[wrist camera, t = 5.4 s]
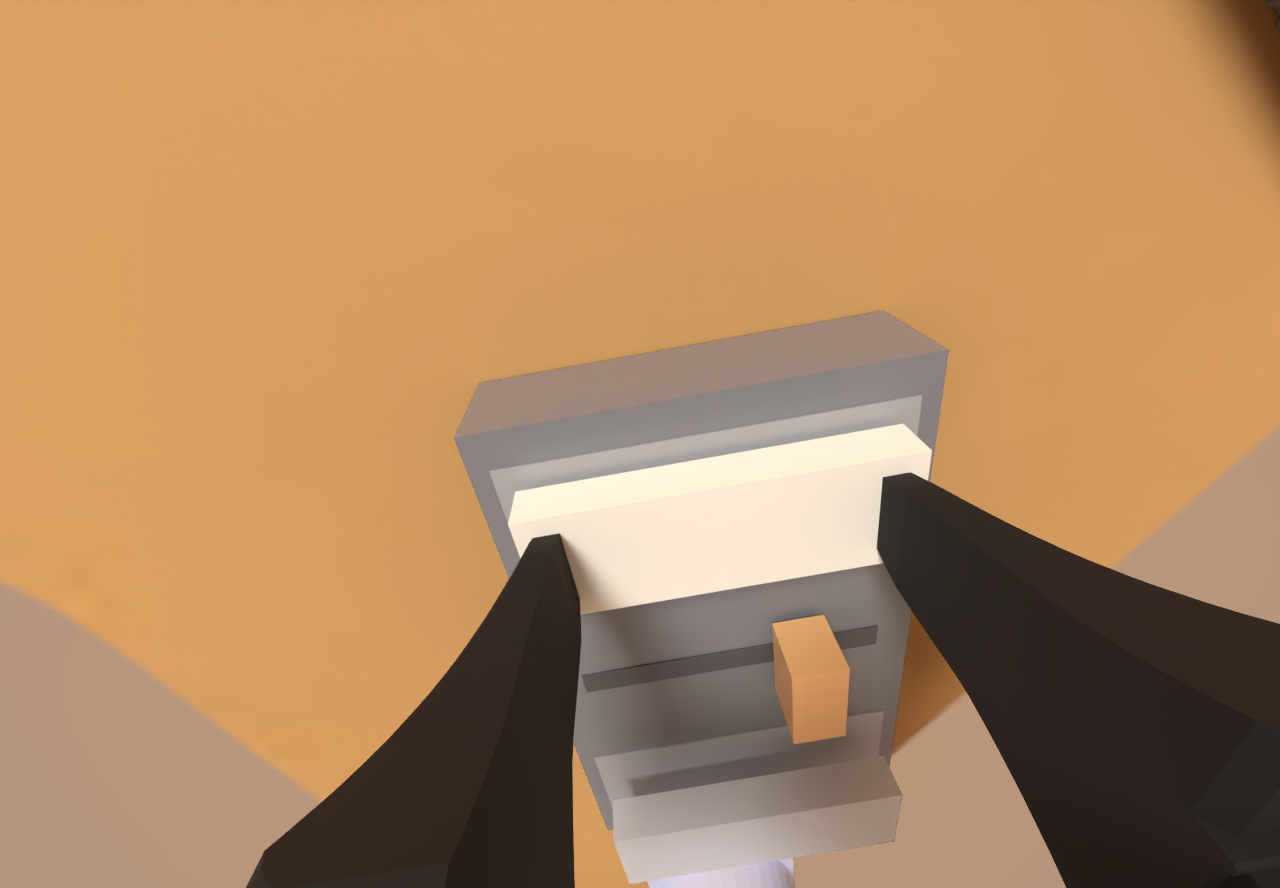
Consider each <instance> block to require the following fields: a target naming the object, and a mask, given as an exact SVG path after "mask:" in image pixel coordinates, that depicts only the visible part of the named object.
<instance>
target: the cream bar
mask: <svg viewBox="0 0 1280 888" xmlns="http://www.w3.org/2000/svg"><path fill="white" fill-rule="evenodd" d="M931 455H932V450H931V449H930V448H929V447H928V446H927V445H926V444H925V443H923V442H922V441H921V440H920V439H919V438H918V437H917V436H916V435H915V434H914V433H913V432H912V431H911V430H910V429H909V428H907V427H906V426H905V425H904V424H898V425H892V426H887V427H881V428H875V429H870V430H864V431H858V432H852V433H847V434H841V435H835V436H830V437H824V438H818V439H813V440H807V441H801V442H795V443H790V444H784V445H778V446H773V447H767V448H761V449H756V450H750V451H744V452H738V453H733V454H727V455H721V456H716V457H710V458H704V459H699V460H693V461H687V462H681V463H676V464H670V465H664V466H659V467H653V468H647V469H642V470H636V471H630V472H624V473H619V474H613V475H607V476H602V477H596V478H590V479H585V480H579V481H573V482H567V483H562V484H556V485H550V486H545V487H539V488H533V489H528V490H522V491H516V492H515V495H514V500H513V504H512V509H511V513H510V517H509V522H508V526H509V529H510V531H511V534H512V537H513V540H514V542H515V545H516V548H517V551H518V553H519V556H520V559H521V557H522V555H523V553H524V551H525V549H526V548H527V546H528V544H529V542H530V541H531V540H532V538H535V537H541V536H547V535H553V534H558V533H560V536H561V539H562V542H563V546H564V549H565V552H566V555H567V559H568V562H569V565H570V568H571V572H572V575H573V578H574V581H575V585H576V588H577V591H578V594H579V598H580V611H581V615H583V614H589V613H594V612H600V611H606V610H612V609H618V608H624V607H630V606H635V605H641V604H647V603H653V602H659V601H665V600H671V599H676V598H682V597H688V596H694V595H700V594H706V593H712V592H717V591H723V590H729V589H735V588H741V587H747V586H753V585H758V584H764V583H770V582H776V581H782V580H788V579H794V578H799V577H805V576H811V575H817V574H823V573H829V572H835V571H840V570H846V569H852V568H858V567H864V566H870V565H876V564H881V563H883V561H882V559H881V557H880V554H879V552H878V550H877V538H878V526H879V515H880V504H881V492H882V481H883V477H887V476H892V475H898V474H903V473H909V472H911V473H913V474H915V475H917V476H919V477H921V478H923V479H925V480H927V481H928V476H929V469H930V462H931Z"/></svg>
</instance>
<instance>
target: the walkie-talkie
mask: <svg viewBox="0 0 1280 888" xmlns="http://www.w3.org/2000/svg"><path fill="white" fill-rule="evenodd" d="M1266 4H1267V6H1268V8H1272V7H1275V9H1276V11H1277V13H1278V15H1279V17H1278V18H1277V20H1276V21H1275V24H1276V26H1277V28H1279V27H1280V0H1267V1H1266Z"/></svg>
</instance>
